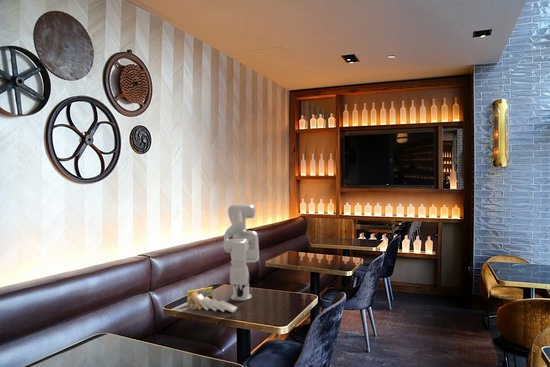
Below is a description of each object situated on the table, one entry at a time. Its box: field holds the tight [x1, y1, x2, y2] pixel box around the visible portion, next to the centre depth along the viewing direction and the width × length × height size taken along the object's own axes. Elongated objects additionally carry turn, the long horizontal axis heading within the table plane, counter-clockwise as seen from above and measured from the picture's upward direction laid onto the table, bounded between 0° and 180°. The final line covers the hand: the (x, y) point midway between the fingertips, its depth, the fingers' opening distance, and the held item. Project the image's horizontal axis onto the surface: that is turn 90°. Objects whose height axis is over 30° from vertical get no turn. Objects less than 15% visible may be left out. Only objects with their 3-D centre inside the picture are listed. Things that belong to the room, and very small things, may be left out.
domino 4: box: [209, 298, 227, 313], centre depth 223 cm, size 2×5×10 cm
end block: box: [187, 297, 198, 311], centre depth 228 cm, size 3×6×6 cm, turn 161°
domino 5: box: [218, 299, 238, 313], centre depth 221 cm, size 2×5×10 cm
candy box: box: [186, 286, 214, 306], centre depth 239 cm, size 16×2×8 cm, turn 126°
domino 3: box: [202, 297, 219, 312], centre depth 225 cm, size 2×5×10 cm
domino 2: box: [195, 294, 211, 311], centre depth 226 cm, size 2×5×10 cm
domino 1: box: [190, 291, 204, 310], centre depth 227 cm, size 2×5×10 cm
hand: (240, 296), depth 219 cm, fingers closed
